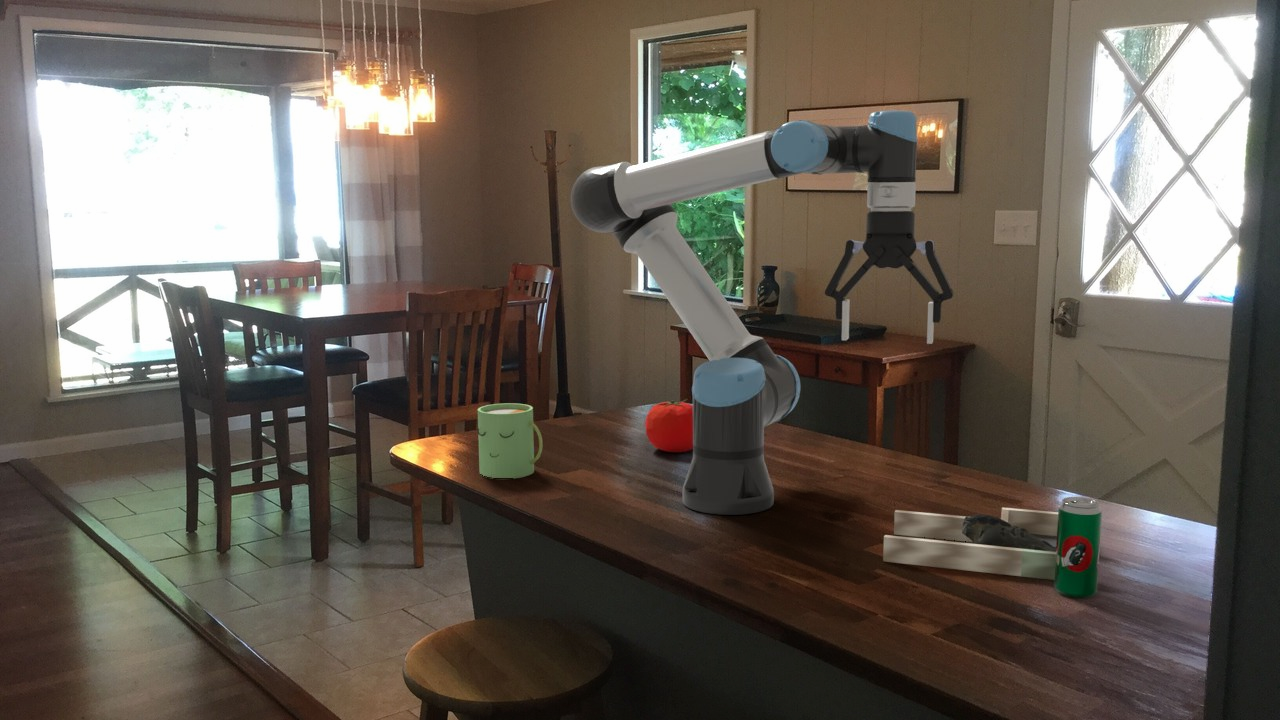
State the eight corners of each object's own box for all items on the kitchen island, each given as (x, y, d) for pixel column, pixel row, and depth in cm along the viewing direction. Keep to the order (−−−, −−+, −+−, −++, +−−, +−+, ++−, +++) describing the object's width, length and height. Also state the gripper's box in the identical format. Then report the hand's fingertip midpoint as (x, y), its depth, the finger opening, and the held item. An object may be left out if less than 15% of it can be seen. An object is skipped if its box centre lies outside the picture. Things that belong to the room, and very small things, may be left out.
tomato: (713, 448, 212) (714, 398, 211) (685, 460, 203) (685, 408, 201) (663, 441, 219) (663, 393, 217) (633, 452, 209) (633, 402, 208)
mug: (468, 476, 192) (466, 412, 190) (496, 463, 202) (495, 401, 200) (529, 482, 187) (527, 417, 186) (555, 469, 197) (554, 406, 195)
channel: (883, 561, 146) (883, 537, 145) (899, 520, 164) (900, 498, 164) (1094, 584, 136) (1096, 558, 136) (1086, 537, 155) (1087, 515, 154)
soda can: (1105, 598, 132) (1111, 505, 130) (1069, 601, 131) (1074, 508, 129) (1080, 583, 137) (1085, 494, 135) (1045, 587, 136) (1050, 497, 134)
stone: (1054, 572, 142) (1056, 534, 141) (955, 554, 149) (957, 518, 148) (1063, 558, 147) (1066, 521, 146) (968, 540, 154) (970, 506, 153)
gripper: (808, 210, 169) (806, 341, 172) (970, 209, 160) (965, 347, 164) (817, 209, 176) (815, 335, 179) (973, 209, 167) (968, 341, 171)
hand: (887, 341), depth 171 cm, fingers open, 13 cm apart
